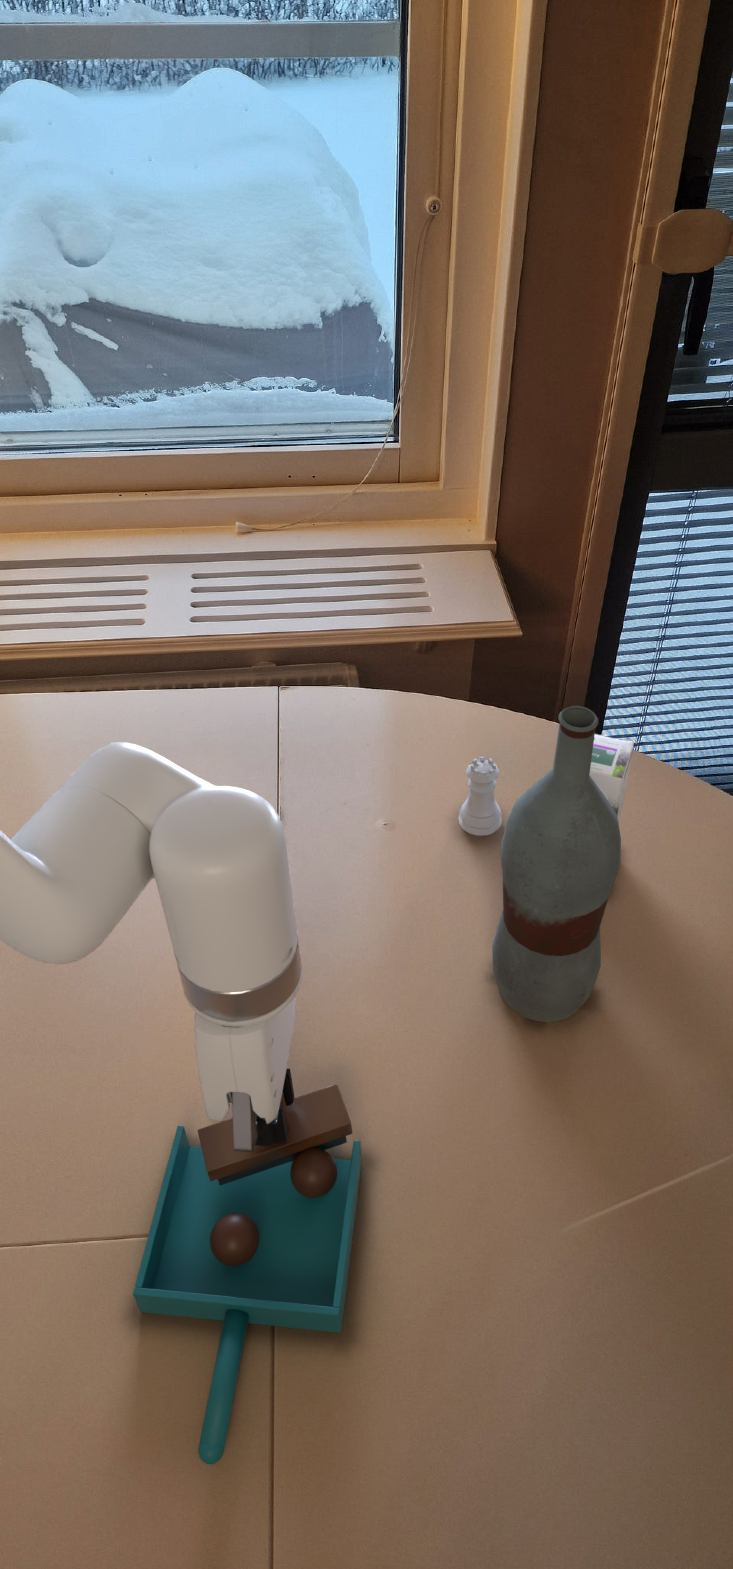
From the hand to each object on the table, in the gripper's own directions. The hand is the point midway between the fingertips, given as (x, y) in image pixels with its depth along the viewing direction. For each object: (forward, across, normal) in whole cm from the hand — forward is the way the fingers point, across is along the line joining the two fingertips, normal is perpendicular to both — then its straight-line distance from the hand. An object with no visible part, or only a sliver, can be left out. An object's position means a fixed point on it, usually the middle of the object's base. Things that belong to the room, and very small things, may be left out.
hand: (269, 1118), depth 76 cm
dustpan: (+5, +11, 0) cm, 12 cm away
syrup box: (+6, -33, +25) cm, 42 cm away
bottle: (+6, -18, +21) cm, 28 cm away
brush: (+4, 0, 0) cm, 4 cm away
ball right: (+4, +2, +3) cm, 5 cm away
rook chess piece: (+6, -38, +15) cm, 41 cm away
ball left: (+3, +8, -2) cm, 8 cm away
